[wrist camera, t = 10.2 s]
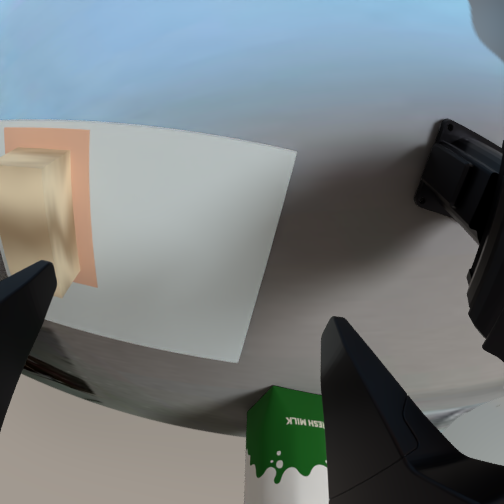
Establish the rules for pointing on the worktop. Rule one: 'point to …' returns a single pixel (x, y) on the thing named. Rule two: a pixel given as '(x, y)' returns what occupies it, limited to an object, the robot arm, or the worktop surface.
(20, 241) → the beige wooden block
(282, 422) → the milk carton
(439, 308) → the worktop surface
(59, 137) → the mat
